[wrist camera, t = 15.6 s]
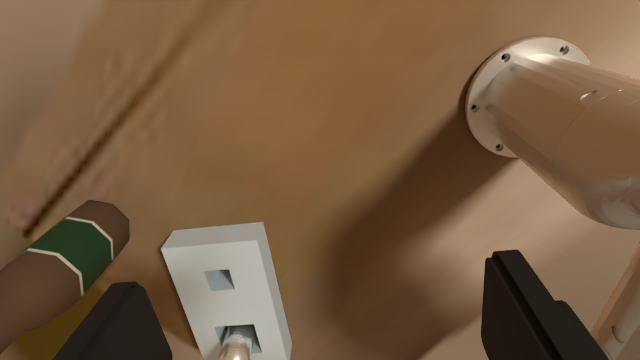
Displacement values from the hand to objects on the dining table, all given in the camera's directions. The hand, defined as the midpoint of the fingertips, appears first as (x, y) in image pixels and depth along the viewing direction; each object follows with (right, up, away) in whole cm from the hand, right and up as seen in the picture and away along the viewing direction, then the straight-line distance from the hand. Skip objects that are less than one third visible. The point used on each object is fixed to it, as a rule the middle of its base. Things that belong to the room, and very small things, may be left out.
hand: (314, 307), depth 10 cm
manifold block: (-12, -12, +44) cm, 47 cm away
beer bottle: (-28, -2, +40) cm, 49 cm away
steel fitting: (-11, -17, +46) cm, 50 cm away
